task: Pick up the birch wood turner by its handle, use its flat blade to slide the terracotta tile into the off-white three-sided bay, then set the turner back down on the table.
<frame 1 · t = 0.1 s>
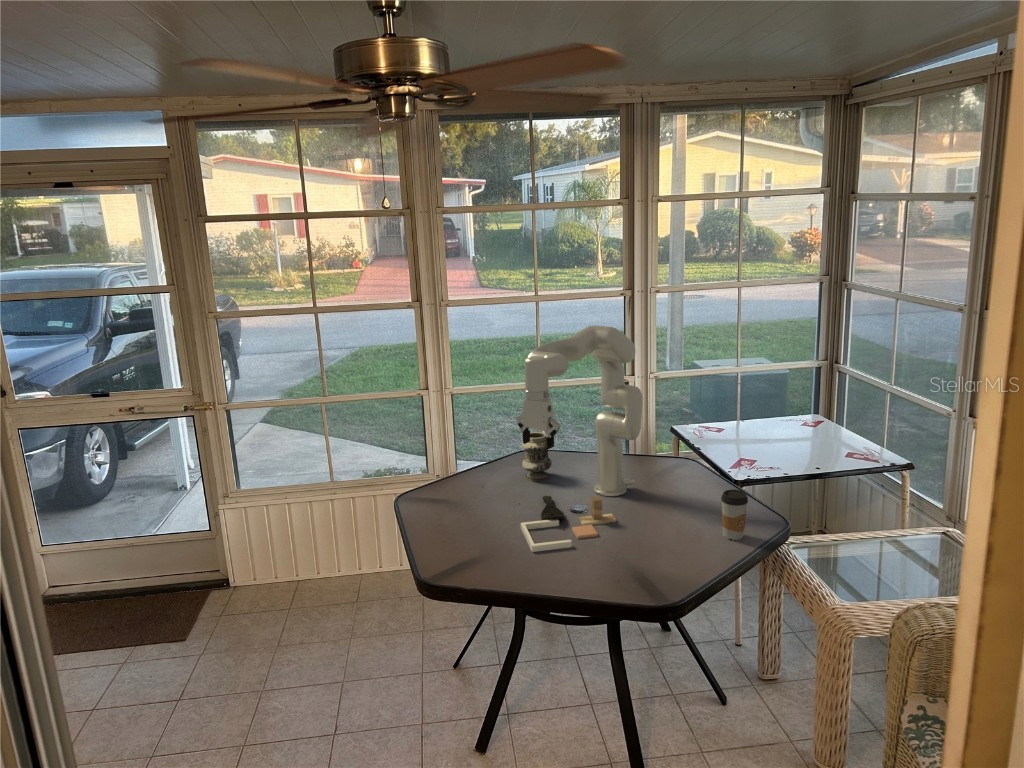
hand: (538, 445, 232), 31 cm above the table, tool pointing down, fingers open, 9 cm apart
coffee cup: (732, 537, 232), on the table
apothecary jar: (537, 477, 290), on the table
bay: (547, 537, 236), on the table
tile: (584, 534, 238), on the table
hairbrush: (550, 511, 256), on the table, touching bay
turner: (596, 520, 248), on the table
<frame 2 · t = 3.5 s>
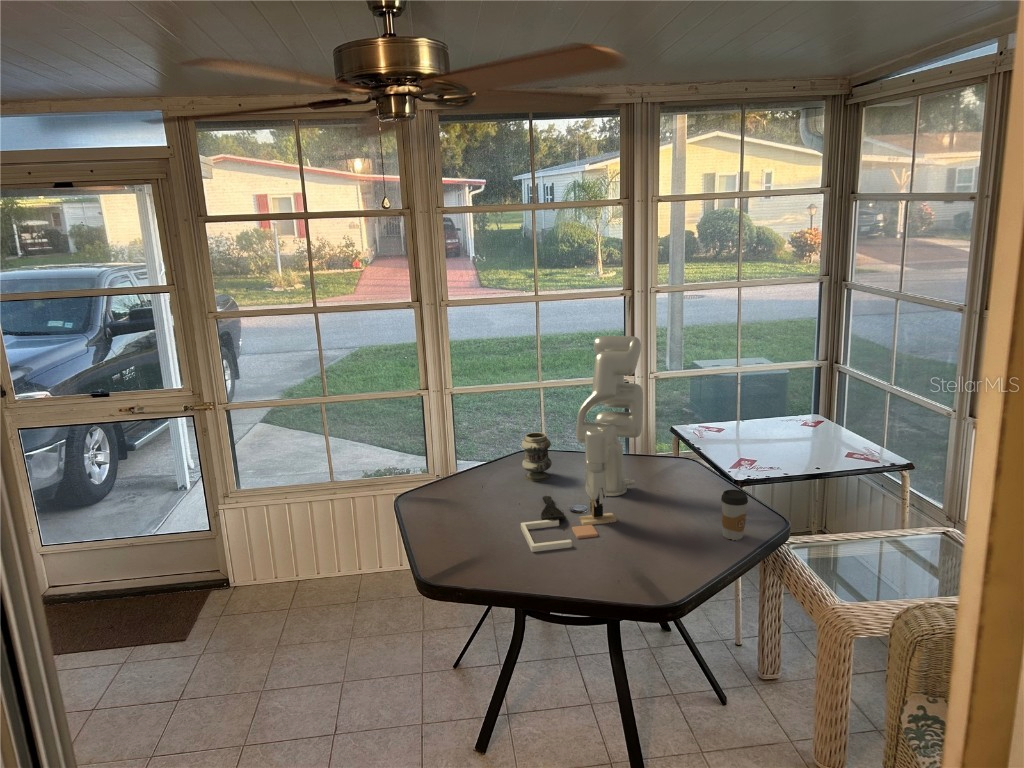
hand: (596, 513, 247), 2 cm above the table, tool pointing down, fingers closed on turner, 3 cm apart
turner: (596, 519, 248), on the table, touching gripper
everything else where it was.
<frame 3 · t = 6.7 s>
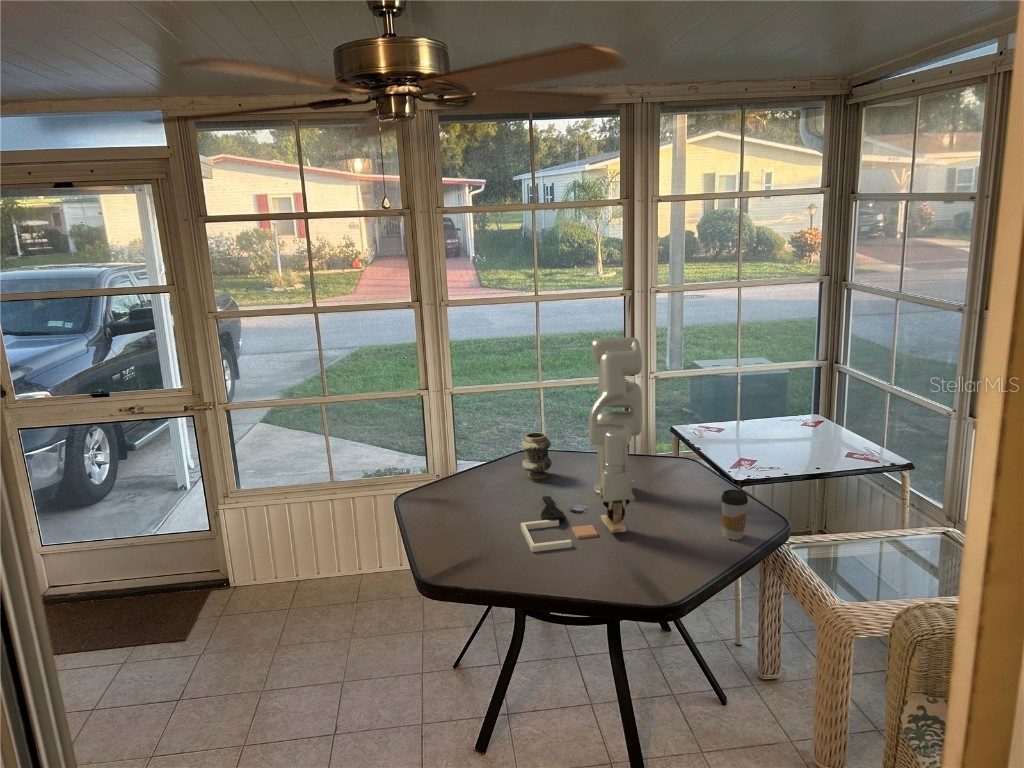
hand: (616, 518, 239), 4 cm above the table, tool pointing down, fingers closed on turner, 3 cm apart
turner: (616, 524, 239), point 2 cm above the table, touching gripper
everything else where it was.
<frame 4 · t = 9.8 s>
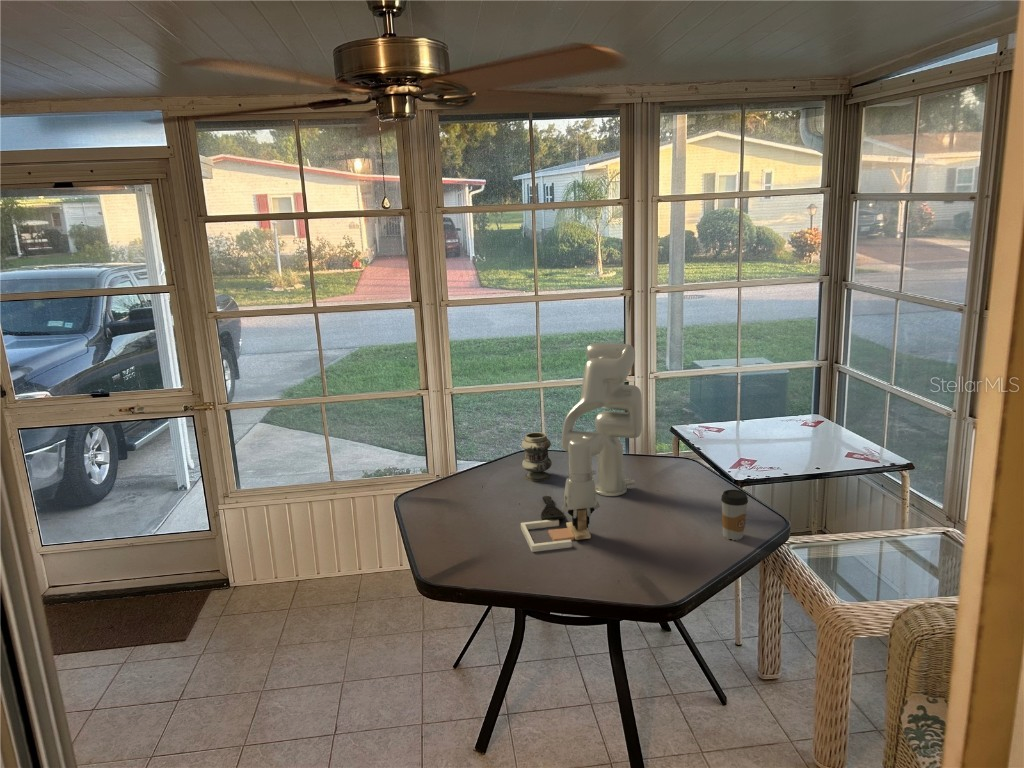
hand: (580, 526, 237), 3 cm above the table, tool pointing down, fingers closed on turner, 2 cm apart
tile: (561, 537, 236), on the table
turner: (581, 531, 238), point 1 cm above the table, touching gripper
everything else where it was.
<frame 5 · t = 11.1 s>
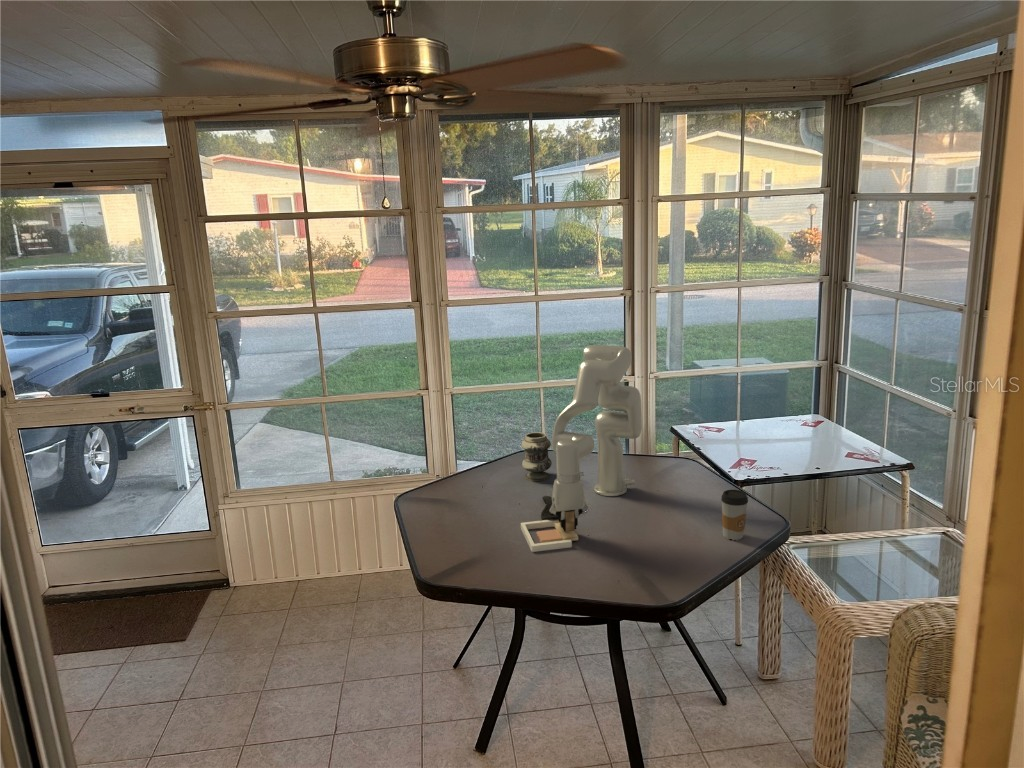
hand: (569, 527, 237), 2 cm above the table, tool pointing down, fingers closed on turner, 2 cm apart
tile: (549, 538, 236), on the table
turner: (569, 532, 237), point 1 cm above the table, touching gripper
everything else where it was.
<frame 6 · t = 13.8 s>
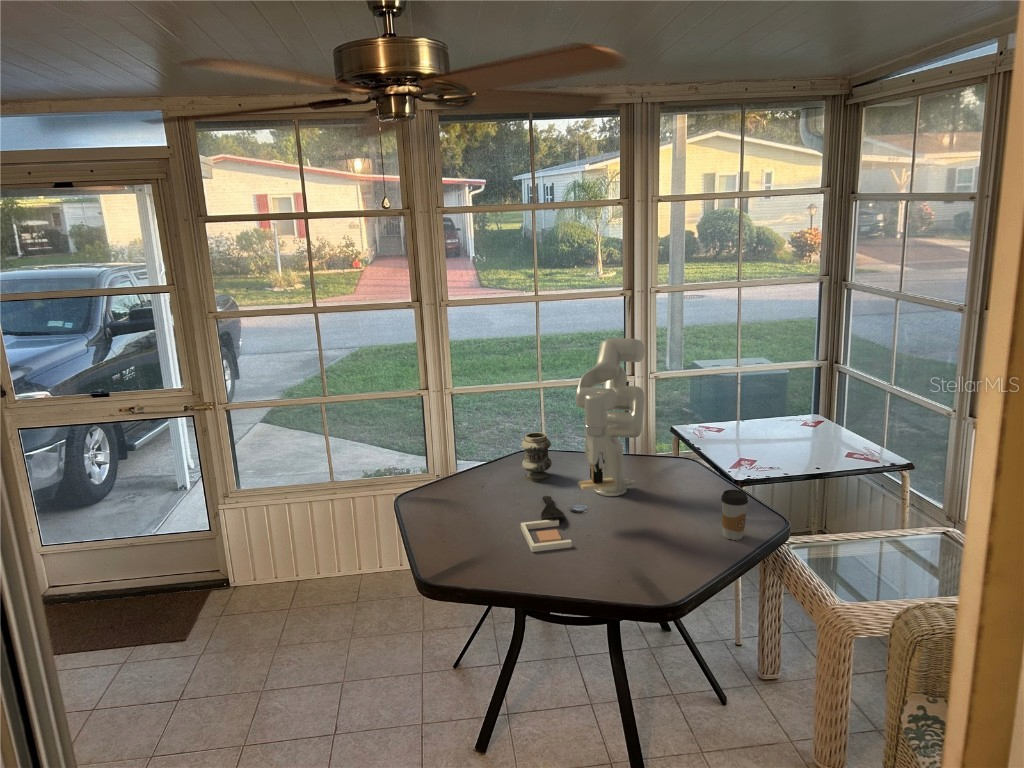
hand: (596, 479, 244), 15 cm above the table, tool pointing down, fingers closed on turner, 3 cm apart
turner: (596, 484, 245), point 13 cm above the table, touching gripper
everything else where it was.
when the fingers open (4 cm above the table, at t = 16.0 s): turner drops 2 cm, on the table.
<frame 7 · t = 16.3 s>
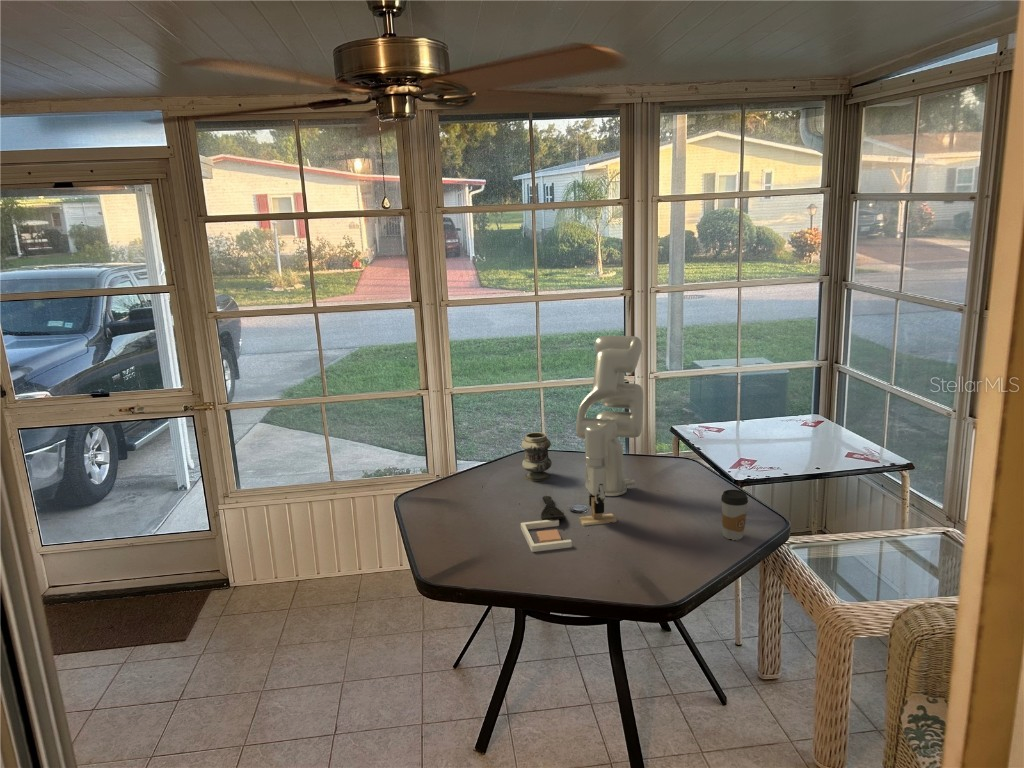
hand: (596, 508, 247), 4 cm above the table, tool pointing down, fingers open, 5 cm apart
turner: (596, 520, 248), on the table
everything else where it was.
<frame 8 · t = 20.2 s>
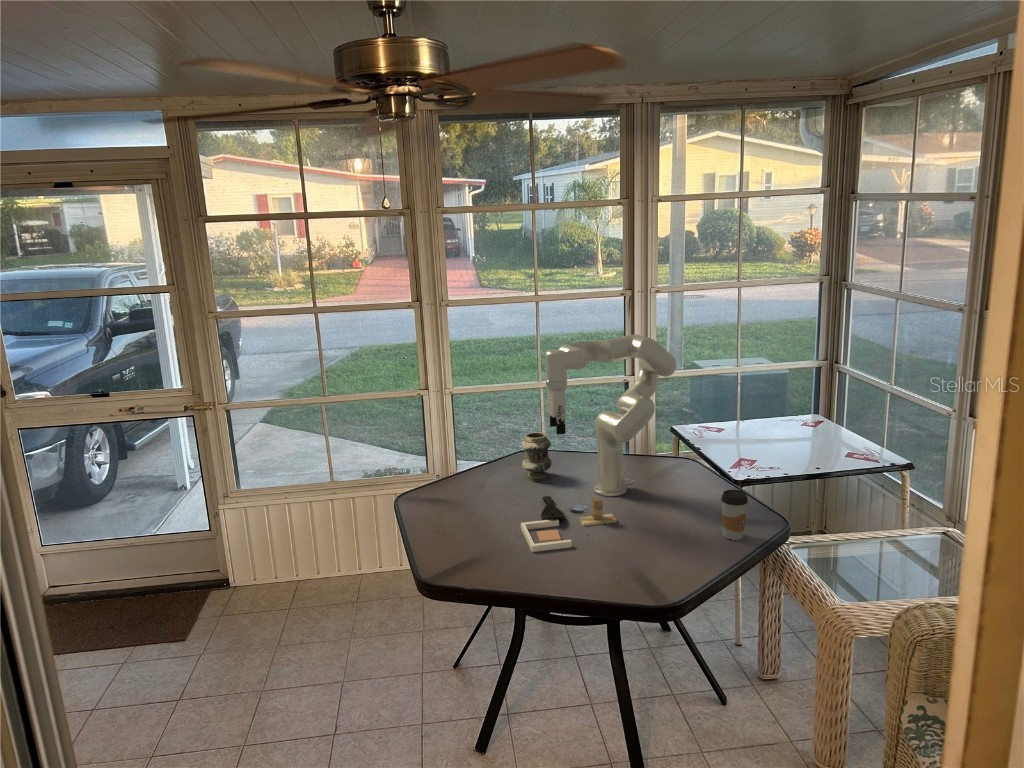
hand: (557, 430, 257), 28 cm above the table, tool pointing down, fingers open, 9 cm apart
nothing on the table moved.
at the end: tile inside the target area on the bay (0.8 cm from its centre), point -0.6 cm above the bay's base; tile tilted 0°; the gripper is holding nothing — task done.
